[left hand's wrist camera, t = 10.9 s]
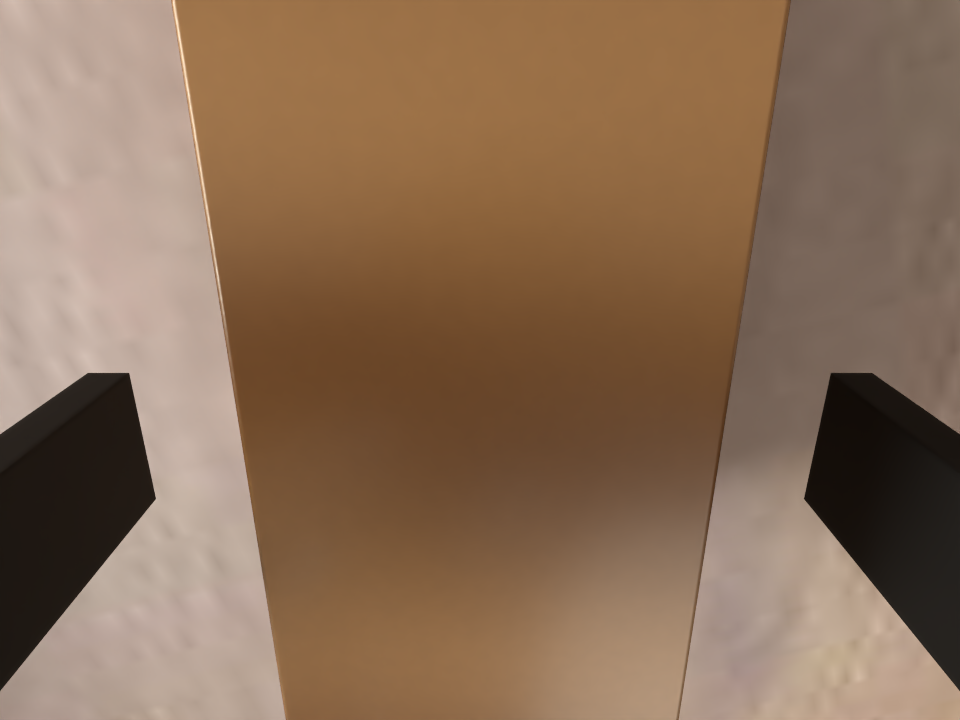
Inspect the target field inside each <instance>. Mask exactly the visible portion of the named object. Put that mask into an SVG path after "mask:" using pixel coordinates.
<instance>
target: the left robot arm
mask: <svg viewBox="0 0 960 720" xmlns="http://www.w3.org/2000/svg"><path fill="white" fill-rule="evenodd" d="M155 499H156V497H155V492H154V488H153V483H152V478H151V474H150V469H149V464H148V460H147V455H146V450H145V446H144V441H143V436H142V431H141V427H140V422H139V417H138V413H137V408H136V403H135V399H134V394H133V389H132V385H131V380H130V375H129V373H87V374H86V375H85V376H83V377H82V378H80V379H79V380H77V381H76V382H75V383H73V384H72V385H70V386H69V387H67V388H66V389H65V390H63V391H62V392H60V393H59V394H57V395H56V396H55V397H53V398H52V399H50V400H49V401H47V402H46V403H45V404H43V405H42V406H40V407H39V408H37V409H36V410H35V411H33V412H32V413H30V414H29V415H27V416H26V417H25V418H23V419H22V420H20V421H19V422H17V423H16V424H15V425H13V426H12V427H10V428H9V429H7V430H6V431H4V432H3V433H2V434H0V691H1V689H2V688H3V687H4V686H5V684H6V683H7V682H8V681H9V679H10V678H11V677H12V676H13V674H14V673H15V672H16V671H17V670H18V668H19V667H20V666H21V665H22V663H23V662H24V661H25V660H26V658H27V657H28V656H29V655H30V653H31V652H32V651H33V650H34V649H35V647H36V646H37V645H38V644H39V642H40V641H41V640H42V639H43V637H44V636H45V635H46V634H47V633H48V631H49V630H50V629H51V628H52V626H53V625H54V624H55V623H56V621H57V620H58V619H59V618H60V616H61V615H62V614H63V613H64V612H65V610H66V609H67V608H68V607H69V605H70V604H71V603H72V602H73V600H74V599H75V598H76V597H77V596H78V594H79V593H80V592H81V591H82V589H83V588H84V587H85V586H86V584H87V583H88V582H89V581H90V579H91V578H92V577H93V576H94V575H95V573H96V572H97V571H98V570H99V568H100V567H101V566H102V565H103V563H104V562H105V561H106V560H107V558H108V557H109V556H110V555H111V554H112V552H113V551H114V550H115V549H116V547H117V546H118V545H119V544H120V542H121V541H122V540H123V539H124V538H125V536H126V535H127V534H128V533H129V531H130V530H131V529H132V528H133V526H134V525H135V524H136V523H137V521H138V520H139V519H140V518H141V517H142V515H143V514H144V513H145V512H146V510H147V509H148V508H149V507H150V505H151V504H152V503H153V502H154V501H155ZM804 499H805V501H806V502H807V503H808V504H809V505H810V507H811V508H812V509H813V510H814V512H815V513H816V514H817V515H818V517H819V518H820V519H821V520H822V521H823V523H824V524H825V525H826V526H827V528H828V529H829V530H830V531H831V533H832V534H833V535H834V536H835V538H836V539H837V540H838V541H839V542H840V544H841V545H842V546H843V547H844V549H845V550H846V551H847V552H848V554H849V555H850V556H851V557H852V558H853V560H854V561H855V562H856V563H857V565H858V566H859V567H860V568H861V570H862V571H863V572H864V573H865V575H866V576H867V577H868V578H869V579H870V581H871V582H872V583H873V584H874V586H875V587H876V588H877V589H878V591H879V592H880V593H881V594H882V596H883V597H884V598H885V599H886V600H887V602H888V603H889V604H890V605H891V607H892V608H893V609H894V610H895V612H896V613H897V614H898V615H899V616H900V618H901V619H902V620H903V621H904V623H905V624H906V625H907V626H908V628H909V629H910V630H911V631H912V633H913V634H914V635H915V636H916V637H917V639H918V640H919V641H920V642H921V644H922V645H923V646H924V647H925V649H926V650H927V651H928V652H929V653H930V655H931V656H932V657H933V658H934V660H935V661H936V662H937V663H938V665H939V666H940V667H941V668H942V670H943V671H944V672H945V673H946V674H947V676H948V677H949V678H950V679H951V681H952V682H953V683H954V684H955V686H956V687H957V688H958V689H959V691H960V434H958V433H957V432H956V431H954V430H953V429H951V428H950V427H948V426H947V425H945V424H944V423H943V422H941V421H940V420H938V419H937V418H935V417H934V416H933V415H931V414H930V413H928V412H927V411H925V410H924V409H923V408H921V407H920V406H918V405H917V404H915V403H914V402H913V401H911V400H910V399H908V398H907V397H905V396H904V395H903V394H901V393H900V392H898V391H897V390H895V389H894V388H893V387H891V386H890V385H888V384H887V383H885V382H884V381H883V380H881V379H880V378H878V377H877V376H875V375H874V374H873V373H831V375H830V380H829V385H828V389H827V394H826V399H825V403H824V408H823V413H822V417H821V422H820V427H819V431H818V436H817V441H816V446H815V450H814V455H813V460H812V464H811V469H810V474H809V478H808V483H807V488H806V492H805V497H804Z"/></svg>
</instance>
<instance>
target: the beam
mask: <svg viewBox="0 0 960 720" xmlns="http://www.w3.org/2000/svg"><path fill="white" fill-rule="evenodd" d="M171 2H172V8H173V14H174V20H175V27H176V33H177V39H178V46H179V52H180V58H181V64H182V71H183V77H184V83H185V89H186V96H187V102H188V108H189V115H190V121H191V127H192V133H193V140H194V146H195V152H196V158H197V165H198V171H199V177H200V184H201V190H202V196H203V202H204V209H205V215H206V221H207V227H208V234H209V240H210V246H211V253H212V259H213V265H214V271H215V278H216V284H217V290H218V296H219V303H220V309H221V315H222V322H223V328H224V334H225V340H226V347H227V353H228V359H229V365H230V372H231V378H232V384H233V391H234V397H235V403H236V409H237V416H238V422H239V428H240V434H241V441H242V447H243V453H244V460H245V466H246V472H247V478H248V485H249V491H250V497H251V503H252V510H253V516H254V522H255V529H256V535H257V541H258V547H259V554H260V560H261V566H262V572H263V579H264V585H265V591H266V598H267V604H268V610H269V616H270V623H271V629H272V635H273V642H274V648H275V654H276V660H277V667H278V673H279V679H280V685H281V692H282V698H283V704H284V711H285V717H286V720H678V719H679V713H680V706H681V700H682V694H683V687H684V681H685V674H686V668H687V662H688V655H689V649H690V642H691V636H692V630H693V623H694V617H695V610H696V604H697V598H698V591H699V585H700V578H701V572H702V566H703V559H704V553H705V546H706V540H707V533H708V527H709V521H710V514H711V508H712V501H713V495H714V489H715V482H716V476H717V469H718V463H719V457H720V450H721V444H722V437H723V431H724V425H725V418H726V412H727V405H728V399H729V393H730V386H731V380H732V373H733V367H734V361H735V354H736V348H737V341H738V335H739V329H740V322H741V316H742V309H743V303H744V297H745V290H746V284H747V277H748V271H749V265H750V258H751V252H752V245H753V239H754V233H755V226H756V220H757V213H758V207H759V201H760V194H761V188H762V181H763V175H764V169H765V162H766V156H767V149H768V143H769V136H770V130H771V124H772V117H773V111H774V104H775V98H776V92H777V85H778V79H779V72H780V66H781V60H782V53H783V47H784V40H785V34H786V28H787V21H788V15H789V8H790V2H791V0H171Z"/></svg>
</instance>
